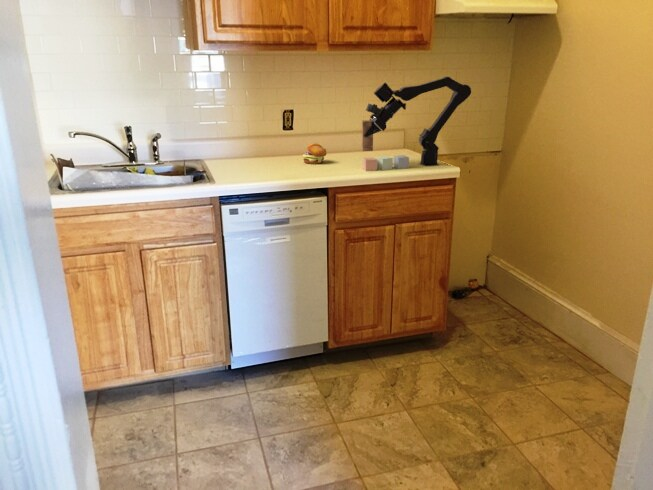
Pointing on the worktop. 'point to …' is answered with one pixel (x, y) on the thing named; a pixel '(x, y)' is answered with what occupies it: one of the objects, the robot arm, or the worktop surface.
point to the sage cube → (384, 163)
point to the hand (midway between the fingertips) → (364, 135)
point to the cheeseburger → (314, 154)
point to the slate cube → (401, 162)
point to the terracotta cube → (370, 164)
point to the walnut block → (366, 141)
